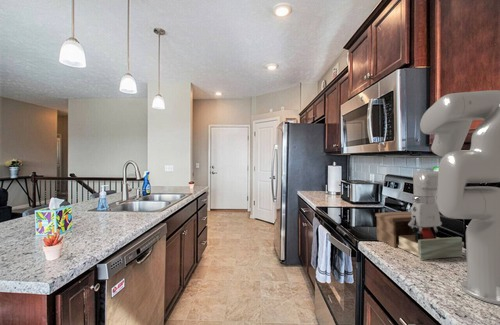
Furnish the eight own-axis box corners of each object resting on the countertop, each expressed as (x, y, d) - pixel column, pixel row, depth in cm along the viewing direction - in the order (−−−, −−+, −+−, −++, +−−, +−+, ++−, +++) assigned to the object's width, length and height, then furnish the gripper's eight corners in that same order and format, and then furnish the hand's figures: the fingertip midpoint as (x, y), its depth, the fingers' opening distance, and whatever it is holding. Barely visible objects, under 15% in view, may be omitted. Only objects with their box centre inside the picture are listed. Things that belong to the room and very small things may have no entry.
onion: (419, 241, 108) (418, 223, 108) (435, 244, 103) (434, 225, 103) (416, 244, 104) (415, 225, 104) (432, 247, 99) (431, 228, 99)
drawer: (462, 256, 97) (461, 237, 97) (421, 259, 95) (420, 240, 95) (430, 244, 112) (430, 228, 112) (394, 247, 109) (394, 230, 109)
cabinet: (429, 245, 112) (428, 216, 112) (393, 247, 110) (392, 218, 110) (409, 237, 125) (408, 211, 125) (376, 239, 122) (375, 213, 122)
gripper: (413, 202, 99) (414, 245, 99) (450, 200, 101) (451, 242, 101) (399, 199, 106) (401, 240, 106) (434, 197, 108) (435, 237, 108)
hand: (425, 241), depth 103 cm, fingers closed on onion, 5 cm apart
